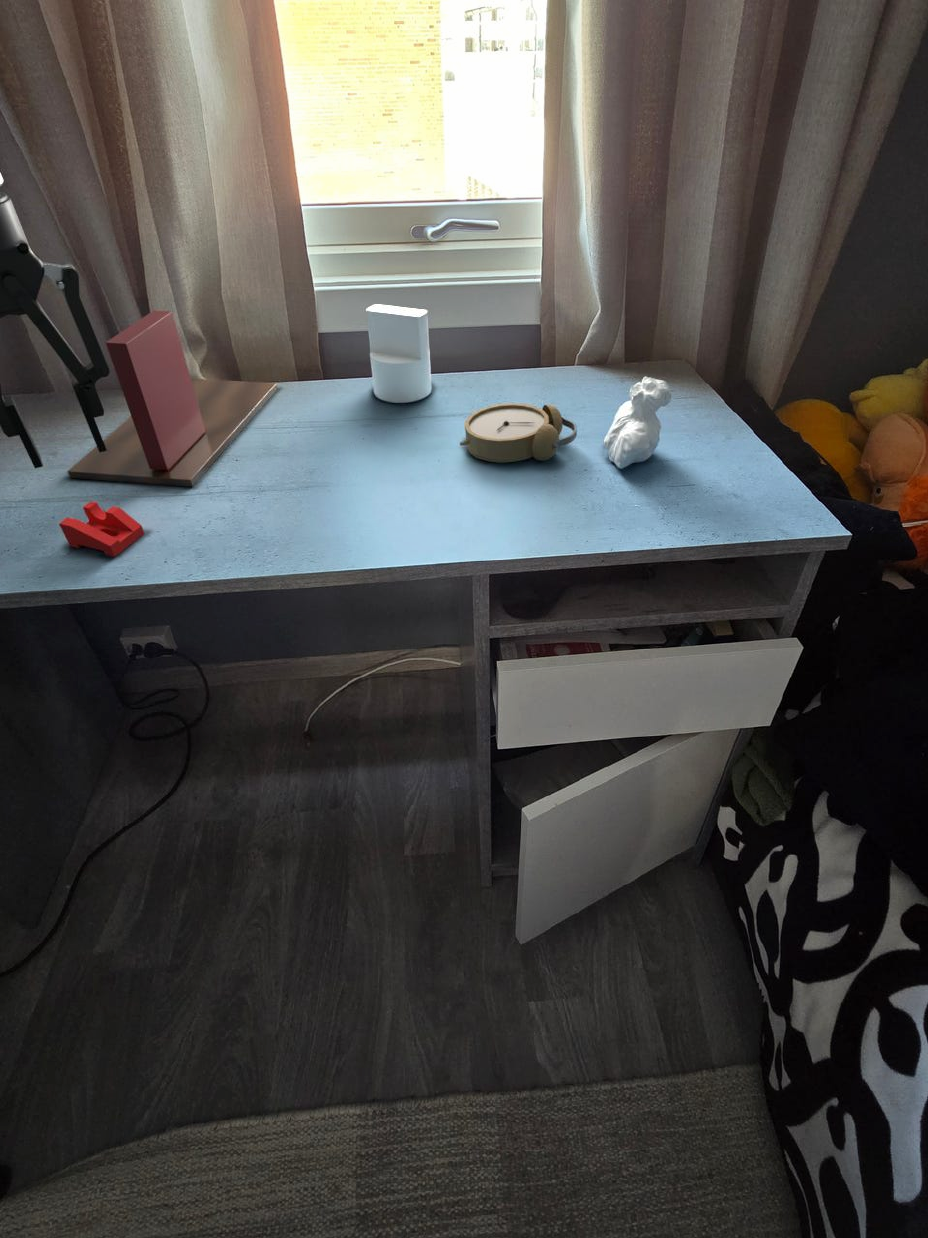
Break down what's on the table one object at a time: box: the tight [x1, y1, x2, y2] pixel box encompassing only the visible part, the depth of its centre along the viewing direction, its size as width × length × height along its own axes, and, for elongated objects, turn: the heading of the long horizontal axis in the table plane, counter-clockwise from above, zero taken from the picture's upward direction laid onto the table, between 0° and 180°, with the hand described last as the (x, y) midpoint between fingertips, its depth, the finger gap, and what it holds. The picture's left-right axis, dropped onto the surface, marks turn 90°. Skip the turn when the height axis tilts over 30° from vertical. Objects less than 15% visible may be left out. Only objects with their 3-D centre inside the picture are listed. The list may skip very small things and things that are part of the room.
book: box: [105, 310, 205, 471], centre depth 86 cm, size 2×11×16 cm, turn 171°
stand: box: [67, 378, 278, 488], centre depth 99 cm, size 17×30×1 cm, turn 171°
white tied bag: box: [603, 376, 672, 470], centre depth 88 cm, size 12×8×11 cm
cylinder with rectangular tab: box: [365, 303, 432, 404], centre depth 104 cm, size 9×9×12 cm
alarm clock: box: [459, 402, 578, 463], centre depth 92 cm, size 11×5×15 cm
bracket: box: [58, 500, 145, 558], centre depth 77 cm, size 6×5×3 cm
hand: (69, 453), depth 71 cm, fingers open, 5 cm apart
